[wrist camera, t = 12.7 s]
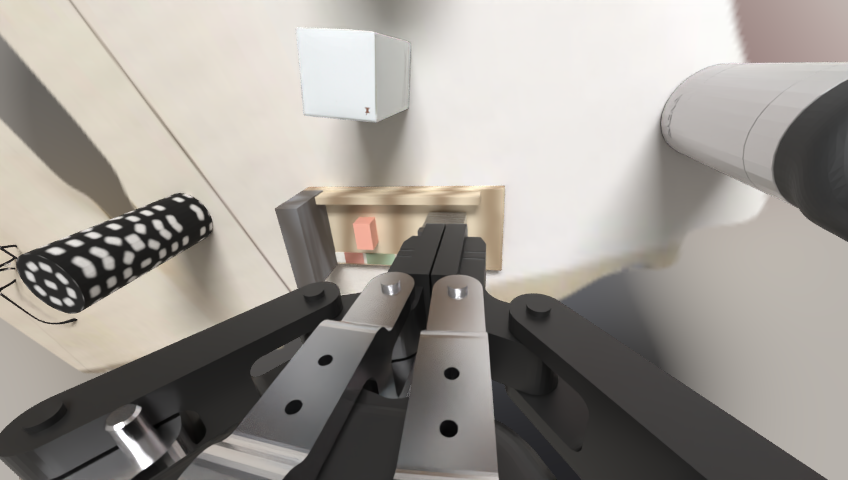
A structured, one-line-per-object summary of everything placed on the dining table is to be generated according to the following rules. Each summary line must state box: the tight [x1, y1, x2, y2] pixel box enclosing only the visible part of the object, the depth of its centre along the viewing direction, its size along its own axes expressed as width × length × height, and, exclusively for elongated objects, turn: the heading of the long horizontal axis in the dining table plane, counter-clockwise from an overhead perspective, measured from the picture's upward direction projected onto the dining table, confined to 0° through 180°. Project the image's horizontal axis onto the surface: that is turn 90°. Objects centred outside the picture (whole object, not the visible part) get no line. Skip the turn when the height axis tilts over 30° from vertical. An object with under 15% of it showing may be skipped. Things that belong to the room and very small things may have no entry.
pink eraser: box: [353, 217, 379, 250], centre depth 48 cm, size 2×4×2 cm, turn 4°
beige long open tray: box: [275, 186, 505, 288], centre depth 45 cm, size 28×12×8 cm, turn 94°
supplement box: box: [296, 27, 411, 123], centre depth 35 cm, size 7×7×13 cm
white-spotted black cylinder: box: [16, 193, 213, 314], centre depth 47 cm, size 8×8×20 cm
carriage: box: [417, 212, 466, 236], centre depth 43 cm, size 5×6×6 cm
